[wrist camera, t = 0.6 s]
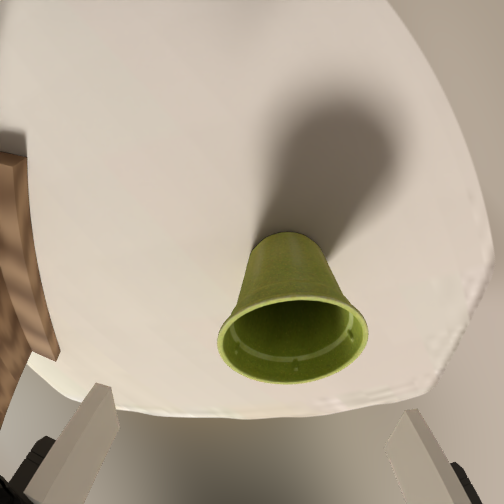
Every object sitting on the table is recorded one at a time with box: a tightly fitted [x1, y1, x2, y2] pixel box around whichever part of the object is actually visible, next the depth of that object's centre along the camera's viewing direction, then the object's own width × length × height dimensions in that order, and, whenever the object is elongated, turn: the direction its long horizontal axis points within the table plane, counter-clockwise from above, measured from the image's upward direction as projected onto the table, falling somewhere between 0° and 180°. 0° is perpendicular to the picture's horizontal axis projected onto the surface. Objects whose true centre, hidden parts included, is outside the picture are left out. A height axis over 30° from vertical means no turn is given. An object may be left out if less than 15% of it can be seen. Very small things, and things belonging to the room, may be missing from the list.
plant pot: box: [217, 232, 368, 384], centre depth 21 cm, size 9×9×9 cm
